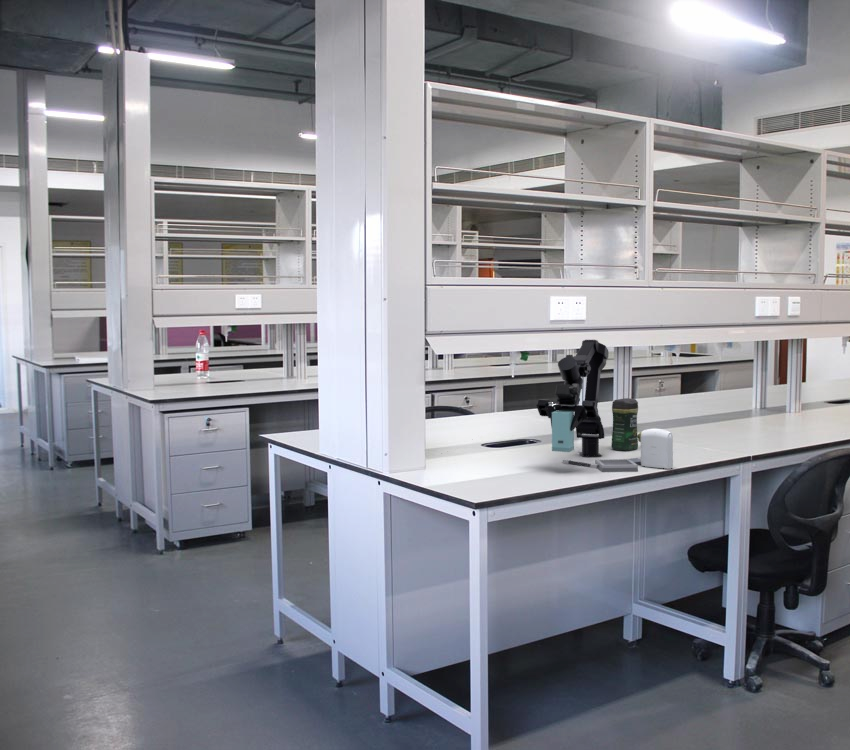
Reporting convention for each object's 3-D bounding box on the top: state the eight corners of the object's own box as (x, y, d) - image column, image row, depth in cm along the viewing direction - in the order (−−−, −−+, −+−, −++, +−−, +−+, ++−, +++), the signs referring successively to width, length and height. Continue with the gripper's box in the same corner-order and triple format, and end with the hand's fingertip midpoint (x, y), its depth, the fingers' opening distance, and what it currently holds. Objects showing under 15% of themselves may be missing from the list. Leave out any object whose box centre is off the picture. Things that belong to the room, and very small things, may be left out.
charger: (556, 448, 254) (556, 410, 253) (574, 449, 252) (573, 411, 251) (551, 451, 250) (551, 412, 249) (569, 452, 247) (569, 413, 246)
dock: (594, 465, 261) (594, 459, 261) (629, 465, 261) (629, 459, 261) (602, 471, 250) (602, 465, 250) (637, 471, 250) (637, 465, 250)
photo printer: (638, 466, 258) (638, 428, 258) (644, 464, 262) (645, 426, 261) (668, 470, 251) (668, 430, 251) (674, 468, 255) (675, 429, 254)
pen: (562, 462, 267) (562, 459, 267) (565, 462, 268) (565, 459, 268) (596, 468, 256) (596, 465, 256) (599, 467, 257) (599, 464, 257)
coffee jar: (626, 452, 287) (626, 400, 285) (608, 449, 292) (607, 398, 291) (642, 448, 293) (642, 398, 292) (623, 446, 299) (623, 396, 298)
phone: (598, 463, 265) (598, 460, 264) (636, 461, 268) (636, 457, 268) (608, 467, 258) (608, 463, 258) (647, 464, 261) (647, 461, 261)
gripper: (537, 374, 257) (526, 412, 248) (595, 374, 248) (586, 414, 239) (545, 396, 264) (535, 434, 255) (602, 397, 256) (593, 437, 247)
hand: (561, 429), depth 249 cm, fingers closed on charger, 5 cm apart
